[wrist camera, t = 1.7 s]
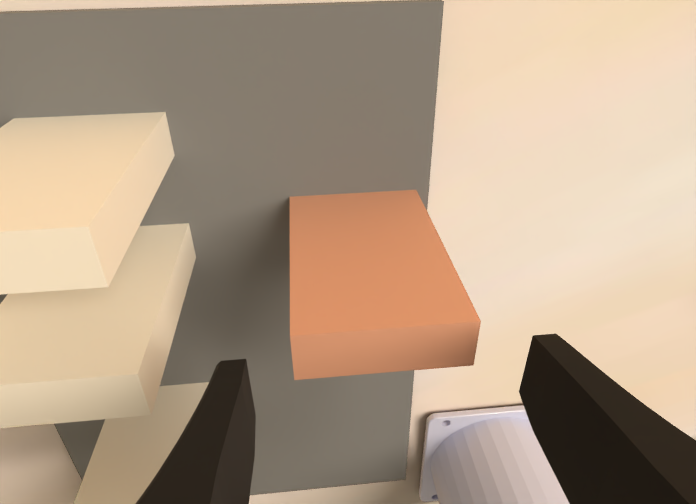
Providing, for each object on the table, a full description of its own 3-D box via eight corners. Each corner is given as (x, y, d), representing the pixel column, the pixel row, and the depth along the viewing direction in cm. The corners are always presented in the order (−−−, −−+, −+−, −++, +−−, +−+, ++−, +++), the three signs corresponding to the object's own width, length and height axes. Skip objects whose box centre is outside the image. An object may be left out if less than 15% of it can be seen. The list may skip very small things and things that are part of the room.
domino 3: (222, 380, 25) (197, 551, 18) (226, 403, 25) (204, 573, 19) (116, 389, 24) (49, 566, 17) (124, 412, 25) (64, 588, 18)
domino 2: (188, 223, 20) (137, 373, 13) (196, 257, 21) (151, 414, 14) (56, 230, 19) (-67, 390, 13) (69, 265, 20) (-40, 431, 14)
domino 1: (165, 111, 17) (88, 226, 11) (174, 155, 18) (108, 287, 12) (13, 118, 17) (-165, 241, 10) (30, 162, 18) (-124, 303, 11)
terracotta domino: (416, 189, 20) (481, 321, 13) (414, 224, 21) (473, 365, 14) (289, 196, 20) (289, 336, 13) (292, 232, 20) (294, 380, 14)
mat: (439, -1, 17) (444, 1, 16) (403, 472, 31) (405, 479, 30) (-137, 15, 15) (-149, 17, 15) (100, 502, 30) (97, 510, 29)
